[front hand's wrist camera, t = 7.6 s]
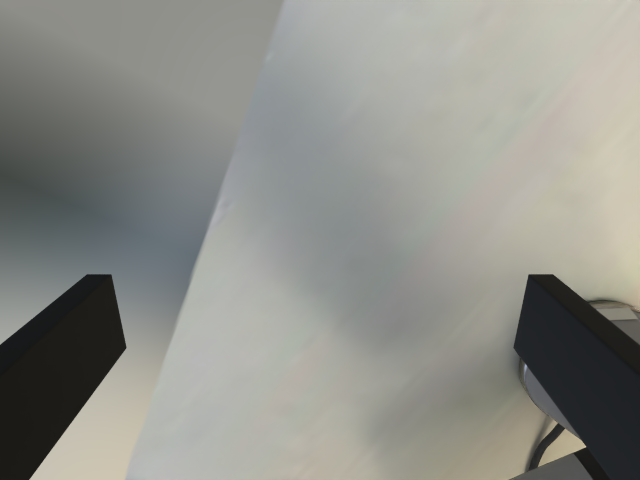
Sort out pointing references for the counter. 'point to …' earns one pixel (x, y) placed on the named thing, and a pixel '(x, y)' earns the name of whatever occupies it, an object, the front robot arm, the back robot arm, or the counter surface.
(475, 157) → the counter surface
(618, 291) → the counter surface
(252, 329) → the counter surface
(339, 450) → the counter surface
